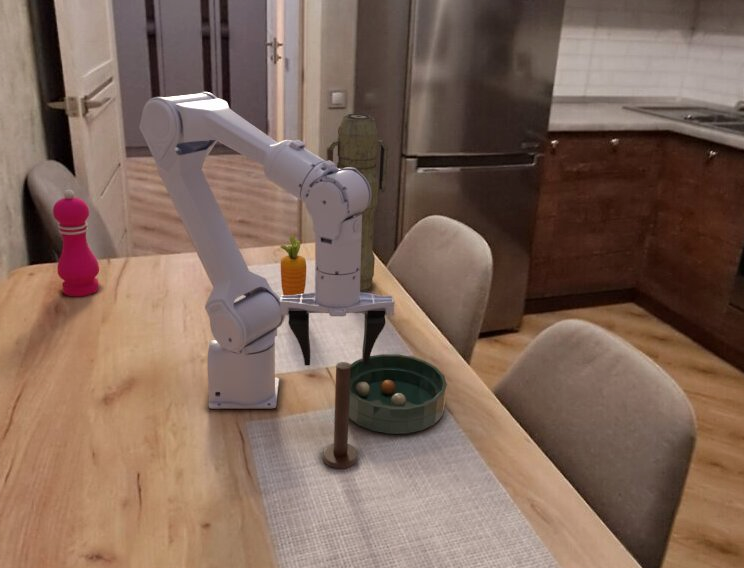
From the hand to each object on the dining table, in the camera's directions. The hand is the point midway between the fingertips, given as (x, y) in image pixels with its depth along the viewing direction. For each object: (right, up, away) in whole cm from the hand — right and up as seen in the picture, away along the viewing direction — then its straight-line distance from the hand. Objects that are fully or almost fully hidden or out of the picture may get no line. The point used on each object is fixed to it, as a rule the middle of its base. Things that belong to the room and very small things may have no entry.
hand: (336, 361), depth 89 cm
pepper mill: (-53, +8, +40) cm, 67 cm away
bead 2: (+7, -5, +12) cm, 14 cm away
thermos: (-2, +9, +51) cm, 51 cm away
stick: (+1, -12, -2) cm, 12 cm away
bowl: (+7, -8, +10) cm, 15 cm away
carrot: (-12, +4, +36) cm, 38 cm away
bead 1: (+3, -5, +11) cm, 12 cm away
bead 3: (+8, -7, +8) cm, 14 cm away
